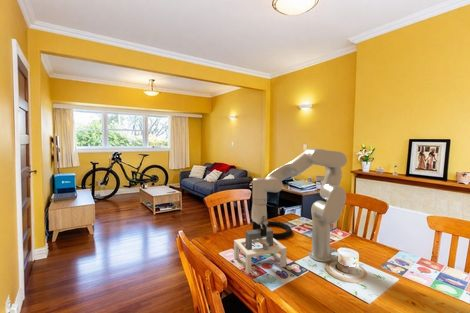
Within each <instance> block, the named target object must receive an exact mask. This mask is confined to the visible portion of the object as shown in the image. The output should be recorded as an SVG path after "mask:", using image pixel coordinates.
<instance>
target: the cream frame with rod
mask: <svg viewBox="0 0 470 313" xmlns="http://www.w3.org/2000/svg"><path fill="white" fill-rule="evenodd" d="M255 243H262V247H260V248H252V250H247V249H246V237H244V238H238V239H233V258H234V259H235V260H240V251H241V253H243V255H244V256H245V273H246V274H248V275H250V274H249V273H251V274H252V258H254V257H260V256H265V255H270V254H276V253H280V260H279V261H280V267H282V268H286V267H287V247H286V246H285V245H283V244H282V243H281V242H280V241H279V240H278V239H274V238H273V246H270V247H268V246H269V244H268V243H267V242H266V237H265V238H259V239H253V240H252V244H255Z"/></svg>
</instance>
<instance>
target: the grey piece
mask: <svg viewBox="0 0 470 313" xmlns="http://www.w3.org/2000/svg"><path fill="white" fill-rule="evenodd" d="M244 231H245V230H244ZM273 233H274V230H273V229H271V228H270V227H267V235H266V236H261V228H259V229H256V230H253V229H250V230H246V231H245V238H246V244H245V248H246V249H247V250H253V243H252V240H253V239H259V238H265V237H266V242H267V243H268V244H269V246H268V247H270V246H274V244H273Z"/></svg>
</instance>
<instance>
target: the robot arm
mask: <svg viewBox="0 0 470 313" xmlns="http://www.w3.org/2000/svg"><path fill="white" fill-rule="evenodd" d="M347 161H348V159H347V155H346V154H345V153H344V152H342V151H336V150H330V149H329V150H327V149H323V148H315V147H313V148H312V147H311V148H307V149H305V150H304V151H303V152H302V153H300V154H299V155H298V156H296V157H295V158H294V159H292V160H291V161H289V162H288V163H286V164H283V165H282V166H280V167H278V168H275V170H273V171H271V172H270V173H269V174H268V175H267V176H266V177H254V178H253V179H252V206H251V216H250V217H251V220H252V230H255V229H258V224H260V225H261V227H260V229H261V236H266V235H267V228H268V227H269V226H268V221H269V220H268V212H267V203H268V201H267V200H268V198H267V196H268V195H267V193H279V192H281V191H282V190H283V187H284V185H283V184H284V183H283V182H282V181H284V180H285V179H288V178H293V177H298V176H300V175H301V174H303V173H305V171H307V170H308V169H309V168H310V167H312V166H313V165H314V166H321V167H324V168H325V175H324V178H323V182H322V183H321V187H320V190H319V195H320V197H321V198H322V199H324V200H325V201H323V200H316V201H315V202H313V203H312V205H311V209H310V212H311V218H312V219H311V220H312V228H311V229H312V230H311V232H312V233H311V237H312V238H311V250H310V251H308V257H310V258H311V259H312V260H315V261H316V262H321V263H322V262H323V263H325V262H326V263H327V262H331V261H332V260H333V258H334V257H333V255H332V254H333V253H336V252H337V249H336V247H334V248H332V247H331V225H334V224H335V223H337V222H338V220H339V219H340V217H341V214H342V211H343V210H344V207H345V204H346V200H347V192H346V190H345V189H344V187H342V186H340V185H341V182H342V181H341V180H342V177H343V171H342V168H344V166H346V165H347V163H348V162H347ZM262 224H264V225H262Z"/></svg>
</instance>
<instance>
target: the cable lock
mask: <svg viewBox="0 0 470 313" xmlns="http://www.w3.org/2000/svg"><path fill="white" fill-rule="evenodd" d="M267 221H268V226H267V227H276V228H280V229H284V230H285V231H284V232H277V233H276V232H275V233H274V232H273V238H274V239H275V240H279V239H280V240H281V239H285V238H287V237H289V236H291V235H292V233H293V230H292V228H291V226H289V225H288V224H286V223H284V222H280V221H269V220H267ZM262 225H264V224H262ZM258 229H261V225H260V224H258ZM255 230H256V229H255Z"/></svg>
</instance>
